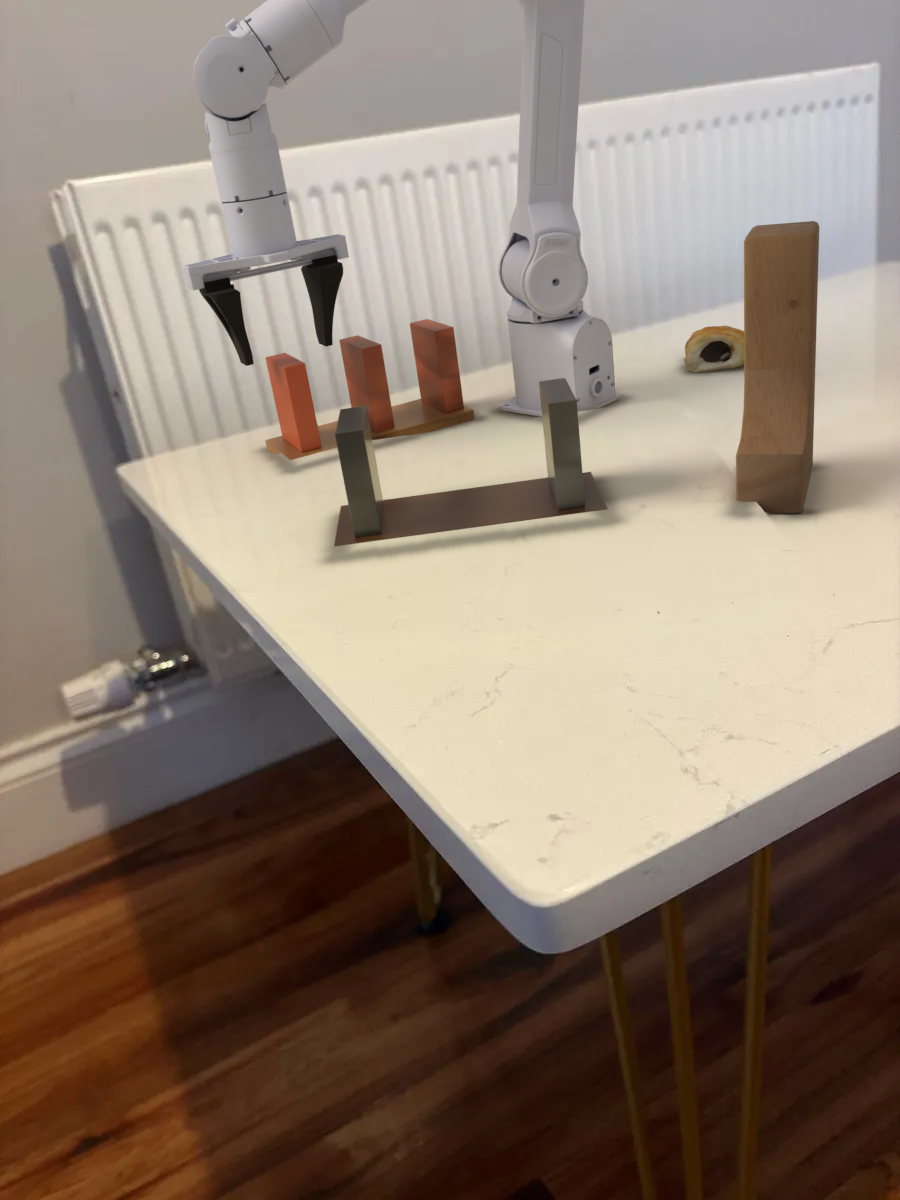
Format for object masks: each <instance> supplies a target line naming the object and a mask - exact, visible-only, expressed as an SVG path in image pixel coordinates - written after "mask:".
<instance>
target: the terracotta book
mask: <svg viewBox="0 0 900 1200" xmlns="http://www.w3.org/2000/svg"><path fill="white" fill-rule="evenodd" d="M265 362H266V367H267V371H268V376H269V381H270V386H271V390H272V395H273V400H274V405H275V410H276V413H277V418H278V423H279V428H280V433H281V436H282V437H283V439H285V440H286V441H287V442H289V443H290V444H291V445H293V446H294V447H295V448H297V449H298V450H299V451H301V452H302V453H303V452H306V451H310V450H314V449H317V448H321V447H322V446H321V441H320V436H319V431H318V426H319V425H318V421H317V416H316V411H315V406H314V400H313V397H312V391H311V385H310V380H309V376H308V370H307V365H306V363H305V362H304V361H302V360H300V359H298V358H296V357H294V356H292V355H290V354H288V353H286V352H282V353H277V354H274V355H269V356H265Z"/></svg>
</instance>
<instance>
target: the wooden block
mask: <svg viewBox="0 0 900 1200" xmlns="http://www.w3.org/2000/svg"><path fill="white" fill-rule="evenodd" d="M819 251H820V224H819V223H818V222H817V221H815V220H811V221H809V220H808V221H797V222H784V223H773V224H761V225H760V224H759V225H755V226H753V227H752V228H751V229H750V230H749V232H748V234H747V235H746V236H745V237H744V240H743V328H744V329H743V331H744V365H743V371H744V372H743V377H744V378H743V380H744V381H743V386H744V387H743V409H742V411H743V412H742V423H741V429H740V430H741V432H740V439H739V443H738V446H737V450H736V455H735V498H736V501H737V502H742V503H756V504H757V505H758V506H759V507H760V508H761V510H762V511H763V512H764V513H779V514H780V513H781V514H782V513H784V514H798V513H802V511H803V510H804V506H805V502H806V498H807V494H808V489H809V484H810V479H811V475H812V471H813V470H812V469H813V464H814V436H815V435H814V433H815V428H814V427H815V400H816V399H815V398H816V396H815V395H816V394H815V393H816V362H817V361H816V360H817V359H816V358H817V328H818V327H817V325H818V287H819V257H820V255H819V254H820V253H819Z"/></svg>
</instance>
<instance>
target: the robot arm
mask: <svg viewBox="0 0 900 1200" xmlns="http://www.w3.org/2000/svg"><path fill="white" fill-rule="evenodd" d="M369 1H370V0H266V1H264V2H263V3H261V5H259V6H258V7H257V8H255V9H254V10H252V12H250V13H249V14H247V15H246V16H245V17H243V19H241V20H240V21H238V20H237V19H236V18H235V17H233V18H232V19H231V20H229V21H228V22H226V24H225V25H224V26H225V29H226V31H227V33H228V34H229V35H227V34H226V35H225V34H224V35H216V36H214V37H211V38H210V39H209V41H208V43H207V44H206V45H205V46H204V47H203V48H202V49H201V50H200V52H199V53H198V54H197V56H196V58H195V60H194V63H193V67H192V68H193V69H192V81H193V87H194V91H195V94H196V97H197V99H198V100H199V101H200V103H201V104H202V106H203V107H204V108H205V109H206V110H207V111H208V112H204V116H205V118H204V127H205V132H206V134H207V136H208V137H209V139H210V142H209V143H208V150H209V154H210V160H211V164H212V167H213V172H214V176H215V181H216V186H217V190H218V195H219V199H220V203H221V207H222V212H223V216H224V221H225V225H226V230H227V235H228V238H229V239H228V240H229V243H230V248H231V252H232V253H229V254H225V255H221V256H218V257H214V258H210V259H206V260H203V261H197V262H194V263H189V264H186V265H185V264H184V265H182V269H183V273H184V278H185V281H186V285H187V288H188V289H189V290H192V291H197V290H198V292H199V293H200V295H201V297H202V298H203V299H204V300H205V302H206V303H207V304H208V305H209V307H210V308H211V310H212V311H213V313H215V315H216V317H217V318H218V320H219V322H220V323H221V324H222V326H223V328H224V329H225V332H226V333H227V335H228V336H229V338H230V340H231V342H232V345H233V347H234V349H235V351H236V353H237V355H238V358H239V361H240V363H241V364H242V365H244V366H245V367H247V366H253V365H254V364H255V363H254V357H253V351H252V348H251V344H250V341H249V338H248V337H249V336H248V333H247V330H246V325H245V320H244V313H243V305H242V297H241V291H239V289H236V288H235V285H234V283H232V284H231V282H233V281H238V280H243V279H248V278H252V277H256V276H263V275H266V274H271V273H276V272H280V271H286V270H291V269H294V268H299V267H301V268H300V271H301V274H302V278H303V280H304V284H305V285H306V286H305V287H306V290H307V293H308V298H309V301H310V305H311V311H312V317H313V322H314V328H315V334H316V338H317V342H318V344H319V345H321V346H323V347H327V348H328V347H331V346H333V345H334V344H333V343H334V341H333V327H334V326H333V325H334V315H335V308H336V307H335V306H336V302H337V297H338V293H339V289H340V285H341V281H342V279H343V276H344V266H343V263H342V262H340V261H339V260H342V259H343V260H344V259H348V258H349V257H350V255H349V250H348V245H347V238H346V235H344V234H339V233H338V234H332V235H326V236H320V237H314V238H310V239H302V240H297V236H296V231H295V226H294V220H293V215H292V210H291V205H290V199H289V195H288V189H287V185H286V180H285V175H284V170H283V165H282V160H281V154H280V149H279V145H278V139H277V136H276V134H275V133H274V132H273V130H272V125H271V121H270V116H269V110H268V105H267V103H266V102H265V100H266V98H267V95H268V90H269V88H277V89H280V90H281V89H284V88H285V87H286V86H287V85H290V83H292V82H293V81H294V80H296V79H297V78H298V77H300V76H301V75H302V74H303V73H305V72H307V70H309V69H310V68H312V67H313V66H314V65H316V64H317V63H318V62H319V61H321V60H322V59H323V58H324V57H326V56H327V55H328V54H330V53H331V52H333V50H335V49H336V48H338V47H339V46H341V45H342V43H343V40H344V34H345V25H346V20H347V17H348V16H350V15H351V14H352V13H353V12H355V11H356V10H358V9H359V8H361V7H362V6H363V5H364V4H366V3H367V2H369ZM516 1H517V2H518V3H519V4H520V5H521V7H522V9H523V18H522V19H523V21H522V45H521V46H522V48H521V49H522V50H521V71H520V72H521V74H520V75H521V76H520V99H519V101H520V103H519V125H518V127H519V130H518V131H519V132H518V154H517V155H518V157H517V158H518V159H517V161H518V162H517V183H516V184H517V185H516V204H515V207H514V210H513V213H512V215H511V218H510V221H509V230H508V231H509V234H508V238H507V239H508V240H507V243H506V246H505V247H504V250H503V251H502V253H501V255H500V258H499V260H498V261H499V262H498V270H497V271H498V272H497V273H498V279H499V281H500V284H501V286H502V289H504V291H505V292H506V294H507V295H509V296H510V297H511V302H510V305H509V308H508V310H507V312H506V316H507V317H506V318H507V326H508V335H509V344H510V354H511V355H510V356H511V363H512V374H513V382H514V391H515V397H514V398H513V397H512V398H511V399H509V400H507V401H504V402H502V403H500V404H498V405H497V408H498V409H497V410H499V411H504V412H508V413H509V412H510V413H514V414H515V413H517V414H522V415H529V416H533V417H541V418H542V410H541V399H540V389H539V382H540V381H546V380H553V379H560V378H565V379H566V381H567V382H568V384H569V386H570V388H571V390H572V392H573V394H574V396H575V398H576V400H577V410H578V413H579V412H586V411H593V410H598V409H599V408H602V407H604V406H606V405H609V404H610V403H613V402H615V401H616V400H619V399H621V398H622V394H621V393H620V392H617V391H616V381H615V377H616V376H615V364H614V347H613V346H614V345H613V337H612V332H611V330H610V328H609V325H608V324H607V322H605V320H604V319H602V318H599V317H596V316H593V315H590V314H588V312H586V311H585V310H584V301H583V299H584V297H585V296H586V292H587V289H588V285H589V271H588V268H587V265H586V263H585V260H584V257H583V255H582V251H581V236H582V235H581V229H580V225H579V222H578V219H577V216H576V213H575V209H574V186H575V171H576V170H575V168H576V156H577V155H576V154H577V137H578V121H579V120H578V119H579V102H580V86H581V84H580V83H581V68H582V53H583V52H582V51H583V33H584V18H585V1H586V0H516ZM284 261H286V262H284ZM280 262H282V263H280ZM270 264H271V265H270ZM265 265H266V266H265ZM267 265H268V266H267ZM258 266H259V267H258ZM260 266H262V267H260ZM252 267H258V268H253V269H252Z"/></svg>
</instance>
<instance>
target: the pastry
mask: <svg viewBox="0 0 900 1200" xmlns="http://www.w3.org/2000/svg"><path fill="white" fill-rule="evenodd" d="M684 353H685V354H684V355H685V356H684V359H683V362H684V365H685V366H686V368H687V369H688V371H691V372H693V373H699V372H700V373H701V372H703V373H704V372H712V371H716V370H719V369H727V370H728V369H734V368H738V367H741V366H742V367H744V330H742V329H740V328H737V327H732V326H730V325H713V326H704V327H702V328H700V329H698V330H695V331H693V332H692V334H691V335H690V337H689V338H688V339H687V340H686V342H685V345H684Z"/></svg>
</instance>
